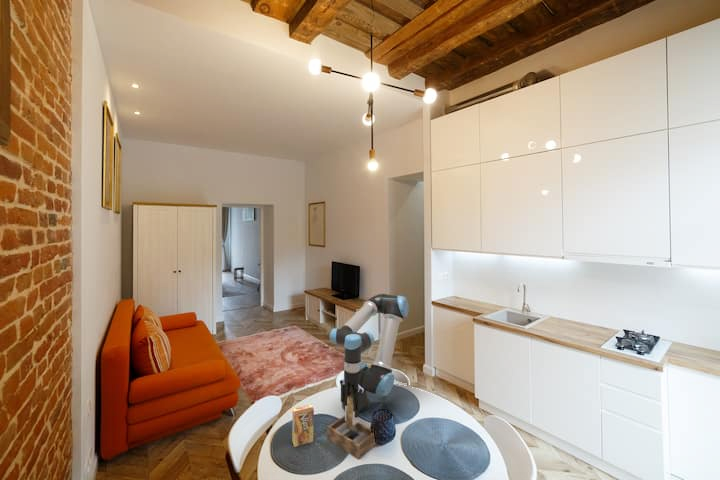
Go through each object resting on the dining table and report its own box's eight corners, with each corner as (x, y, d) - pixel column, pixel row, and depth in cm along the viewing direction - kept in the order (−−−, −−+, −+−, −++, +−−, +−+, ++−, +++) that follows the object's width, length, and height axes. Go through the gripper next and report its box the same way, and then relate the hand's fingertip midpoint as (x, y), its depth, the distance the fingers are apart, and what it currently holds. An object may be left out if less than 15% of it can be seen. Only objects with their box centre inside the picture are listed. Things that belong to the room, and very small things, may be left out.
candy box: (310, 436, 138) (311, 403, 138) (313, 442, 134) (314, 408, 134) (291, 441, 134) (292, 408, 134) (294, 448, 130) (294, 413, 130)
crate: (327, 438, 137) (327, 426, 136) (345, 426, 146) (345, 415, 146) (358, 459, 124) (358, 446, 124) (375, 444, 133) (376, 432, 133)
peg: (344, 427, 134) (345, 396, 134) (350, 423, 137) (351, 392, 137) (351, 431, 132) (352, 399, 132) (357, 426, 135) (357, 396, 135)
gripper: (333, 366, 137) (332, 417, 137) (361, 378, 126) (360, 433, 126) (344, 362, 143) (343, 410, 143) (372, 373, 132) (371, 425, 132)
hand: (351, 421), depth 135 cm, fingers closed on peg, 4 cm apart
